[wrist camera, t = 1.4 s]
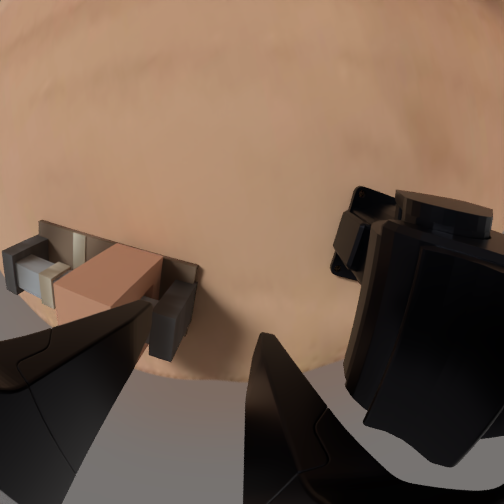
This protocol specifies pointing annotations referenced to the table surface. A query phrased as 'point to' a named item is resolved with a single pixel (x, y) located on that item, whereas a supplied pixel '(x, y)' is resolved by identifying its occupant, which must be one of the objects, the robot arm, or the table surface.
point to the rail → (83, 249)
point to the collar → (108, 283)
